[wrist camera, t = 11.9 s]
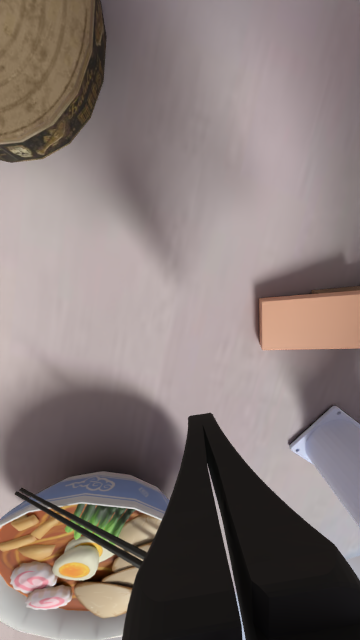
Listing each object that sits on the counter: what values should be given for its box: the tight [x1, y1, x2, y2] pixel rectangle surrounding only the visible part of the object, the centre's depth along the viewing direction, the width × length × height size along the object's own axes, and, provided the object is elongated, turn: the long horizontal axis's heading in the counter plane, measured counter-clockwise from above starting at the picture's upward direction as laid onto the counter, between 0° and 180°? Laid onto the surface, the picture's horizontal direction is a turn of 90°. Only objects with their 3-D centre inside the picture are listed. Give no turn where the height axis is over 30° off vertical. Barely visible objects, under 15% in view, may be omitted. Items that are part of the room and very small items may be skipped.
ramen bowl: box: [0, 471, 169, 640], centre depth 22 cm, size 25×23×8 cm
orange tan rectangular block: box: [259, 290, 360, 350], centre depth 18 cm, size 2×5×9 cm
